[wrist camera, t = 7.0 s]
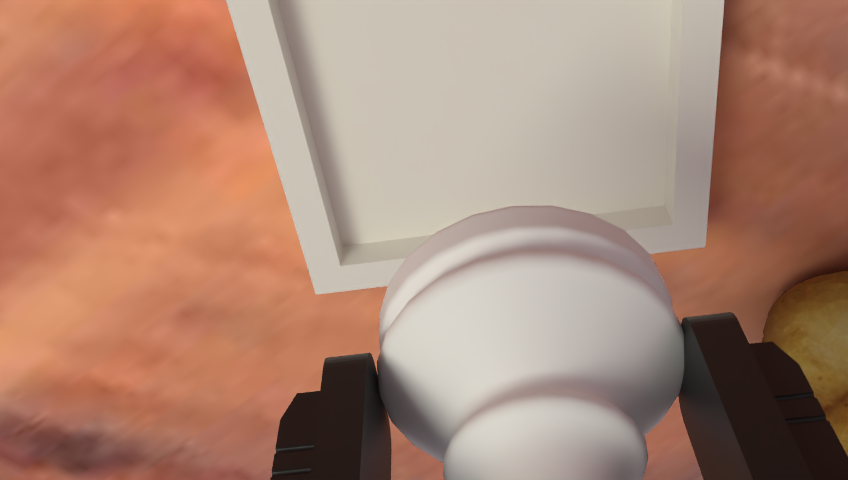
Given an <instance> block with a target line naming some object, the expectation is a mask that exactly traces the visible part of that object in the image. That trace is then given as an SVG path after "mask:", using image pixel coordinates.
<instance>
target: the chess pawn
mask: <svg viewBox="0 0 848 480" xmlns="http://www.w3.org/2000/svg"><path fill="white" fill-rule="evenodd" d="M379 341H380V354H379V357H378V360H377V371H378V386H379V393H380V397H381V399H382V402H383V404H384V406H385V408H386V410H387V413H388V415H389V417H390V419H391V421H392V423H393V424H394V425H395V426H396V427H397V428H398V429H399V430H400V431H401V432H402V433H403V434H404V435H405V437H406V438H407V439H408V440H409V441H410V442H411V443H412V444H413V445H415V446H416V447H418V448H419V449H421V450H423V451H424V452H426V453H427V454H429V455H431V456H432V457H434V458H435V459H437V460H439V461H440V462H442V463H444V478H445V480H642V478H643V476H644V473H645V469H646V465H647V461H648V453H647V447H646V441H645V437H644V436H645V435H646V434H647V433H648V432H649V431H650V430H652V429H653V428H654V427H655V426H656V425H657V424H658V423H659V422H661V420H662V419H663V418H664V416H665V414H666V413H667V411H668V410H669V408H670V407H671V405H672V404H673V402H674V401H675V399H676V398H677V396H678V395H679V393H680V389H681V385H682V380H683V374H684V332H683V328H682V326H681V324H680V322H679V320H678V319H677V317H676V315H675V313H674V311H673V308H672V300H671V297H670V295H669V292H668V290H667V287H666V284H665V282H664V280H663V278H662V276H661V274H660V272H659V270H658V269H657V267H656V265H655V263H654V261H653V259H652V257H651V255H650V254H649V253H648V252H647V251H646V250H645V249H644V248H643V247H642V246H641V245H640V244H639V243H638V242H637V241H635V240H634V239H633V238H632V237H631V236H630V235H629V234H628V233H627V232H626V231H625V230H623V229H621V228H619V227H617V226H615V225H613V224H611V223H609V222H607V221H605V220H603V219H601V218H599V217H597V216H595V215H593V214H590V213H585V212H581V211H576V210H571V209H567V208H562V207H557V206H553V205H549V206H509V207H505V208H501V209H496V210H492V211H487V212H483V213H479V214H474V215H471V216H469V217H467V218H465V219H463V220H461V221H459V222H456V223H454V224H452V225H450V226H448V227H446V228H444V229H442V230H440V231H438V232H436V233H435V234H434V235H432V236H431V237H430V238H429V239H427V240H426V241H425V242H424V243H423V244H421V245H420V246H419V247H418V248H416V249H415V250H414V251H413V252H411V253H410V254H409V255H408V256H407V258H406V259H405V261H404V262H403V263H402V265H401V266H400V268H399V269H398V271H397V272H396V273H395V275H394V276H393V278H392V279H391V280H390V282H389V284H388V288H387V291H386V294H385V297H384V301H383V304H382V307H381V310H380V321H379Z"/></svg>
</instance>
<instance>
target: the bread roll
mask: <svg viewBox="0 0 848 480" xmlns="http://www.w3.org/2000/svg"><path fill="white" fill-rule="evenodd" d="M763 335H764V336H763V340H762V343H763V342H774V343H775V344H776V345H777V346H778V347H779V348H781V349H782V350H783V351H784V352H785V353H786V354H788V355H789V356H790V357H791V358H792V359H793V360H795V361H796V362H797V363H798V364H799V365H800V367H801V369H802V371H803V373H804V375H805V376H806V378H807V380H808V382H809V384H810V386H811V388H812V390H813V392H814V397H815V398H817V399H818V401H819V403H820V405H821V407H822V409H823V410H824V412H825V414H826V420H827V421H829V422H830V424H831V426H832V427H833V429H834V431H835V433H836V435H837V437H838V439H839V441H840V443H841V444H842V446H843V448H844V450H845V452H846V454H847V456H848V271H841V272H836V273H831V274H826V275H821V276H816V277H814V278H811V279H808V280H805V281H803V282H801V283H799V284H797V285H795V286H794V287H792V288H791V289H789V290H788V291H786V292H785V293H784V294H783V295H782V296H781V297H780V298H779V299H778V300H777V301H776V302H775V303H774V304H773V306H772V307H771V309H770V311H769V314H768V317H767V321H766V324H765V327H764V330H763Z"/></svg>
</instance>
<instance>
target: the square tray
mask: <svg viewBox="0 0 848 480" xmlns="http://www.w3.org/2000/svg"><path fill="white" fill-rule="evenodd" d="M226 2H227V5H228V8H229V11H230V15H231V18H232V21H233V25H234V28H235V31H236V34H237V38H238V41H239V44H240V47H241V51H242V54H243V57H244V61H245V64H246V67H247V70H248V74H249V77H250V80H251V83H252V87H253V90H254V93H255V97H256V100H257V103H258V106H259V110H260V113H261V116H262V120H263V123H264V126H265V129H266V133H267V136H268V139H269V142H270V146H271V149H272V152H273V156H274V159H275V162H276V165H277V169H278V172H279V175H280V178H281V182H282V185H283V188H284V192H285V195H286V198H287V201H288V205H289V208H290V211H291V215H292V218H293V221H294V224H295V228H296V231H297V234H298V237H299V241H300V244H301V247H302V251H303V254H304V257H305V260H306V264H307V267H308V270H309V274H310V277H311V280H312V283H313V287H314V290H315V293H316V294H324V293H333V292H341V291H349V290H357V289H365V288H374V287H382V286H388V284H389V282H390V280H391V279H392V278H393V276H394V275H395V273H396V272H397V271H398V269H399V268H400V266H401V265H402V263H403V262H404V261H405V259H406V258H407V256H408V255H409V254H410V253H411V252H413V251H414V250H415V249H416V248H418V247H419V246H420V245H421V244H423V243H424V242H425V241H426V240H427V239H429V238H430V237H431V236H432V235H434V234H435V233H436V232H438V231H440V230H442V229H444V228H446V227H448V226H450V225H452V224H454V223H456V222H459V221H461V220H463V219H465V218H467V217H469V216H471V215H474V214H479V213H483V212H487V211H492V210H496V209H501V208H505V207H509V206H549V205H553V206H557V207H562V208H567V209H571V210H576V211H581V212H585V213H590V214H593V215H595V216H597V217H599V218H601V219H603V220H605V221H607V222H609V223H611V224H613V225H615V226H617V227H619V228H621V229H623V230H625V231H626V232H627V233H628V234H629V235H630V236H631V237H632V238H633V239H634V240H635V241H637V242H638V243H639V244H640V245H641V246H642V247H643V248H644V249H645V250H646V251H647V252H648V253H649V254H653V253H661V252H669V251H678V250H686V249H694V248H702V247H706V234H707V221H708V208H709V194H710V181H711V168H712V155H713V142H714V129H715V116H716V103H717V90H718V77H719V64H720V51H721V38H722V25H723V12H724V0H226Z"/></svg>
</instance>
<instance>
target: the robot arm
mask: <svg viewBox="0 0 848 480" xmlns="http://www.w3.org/2000/svg"><path fill="white" fill-rule="evenodd" d="M681 326H682V328H683V332H684V374H683V380H682V385H681V389H680V393H679V395H678V396H679V403H680V408H681V413H682V417H683V420H684V424H685V426H686V429H687V432H688V435H689V438H690V441H691V444H692V447H693V450H694V453H695V456H696V458H697V461H698V464H699V467H700V470H701V473H702V476H703V479H704V480H848V456H847V454H846V452H845V450H844V448H843V446H842V444H841V443H840V441H839V439H838V437H837V435H836V433H835V431H834V429H833V427H832V426H831V424H830V422H829V421H827V420H826V414H825V412H824V410H823V409H822V407H821V405H820V403H819V401H818V399H817V398H815V397H814V392H813V390H812V388H811V386H810V384H809V382H808V380H807V378H806V376H805V375H804V373H803V371H802V369H801V367H800V365H799V364H798V363H797V362H796V361H795V360H793V359H792V358H791V357H790V356H789V355H788V354H786V353H785V352H784V351H783V350H782V349H781V348H779V347H778V346H777V345H776V344H775V343H774V342H763V343H754V344H749V343H748V341H747V339H746V336H745V334H744V332H743V330H742V328H741V326H740V324H739V322H738V320H737V318H736V316H735V315H734V314H733V313H731V312H729V313H720V314H711V315H703V316H694V317H685V318H683V320H682V323H681ZM270 480H391V434H390V425H389V419H388V414H387V410H386V408H385V406H384V404H383V402H382V399H381V397H380V393H379V386H378V375H377V371H376V367H375V364H374V360H373V357H372V355H371V353H364V354H355V355H347V356H338V357H329V358H326V359H325V361H324V366H323V374H322V382H321V391H315V392H306V393H297V394H296V396H295V398H294V399H293V401H292V402H291V404H290V405H289V407H288V409H287V410H286V412H285V413H284V415H283V416H282V418H281V420H280V425H279V431H278V437H277V443H276V454H275V455H274V461H273V467H272V477H271V479H270Z"/></svg>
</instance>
